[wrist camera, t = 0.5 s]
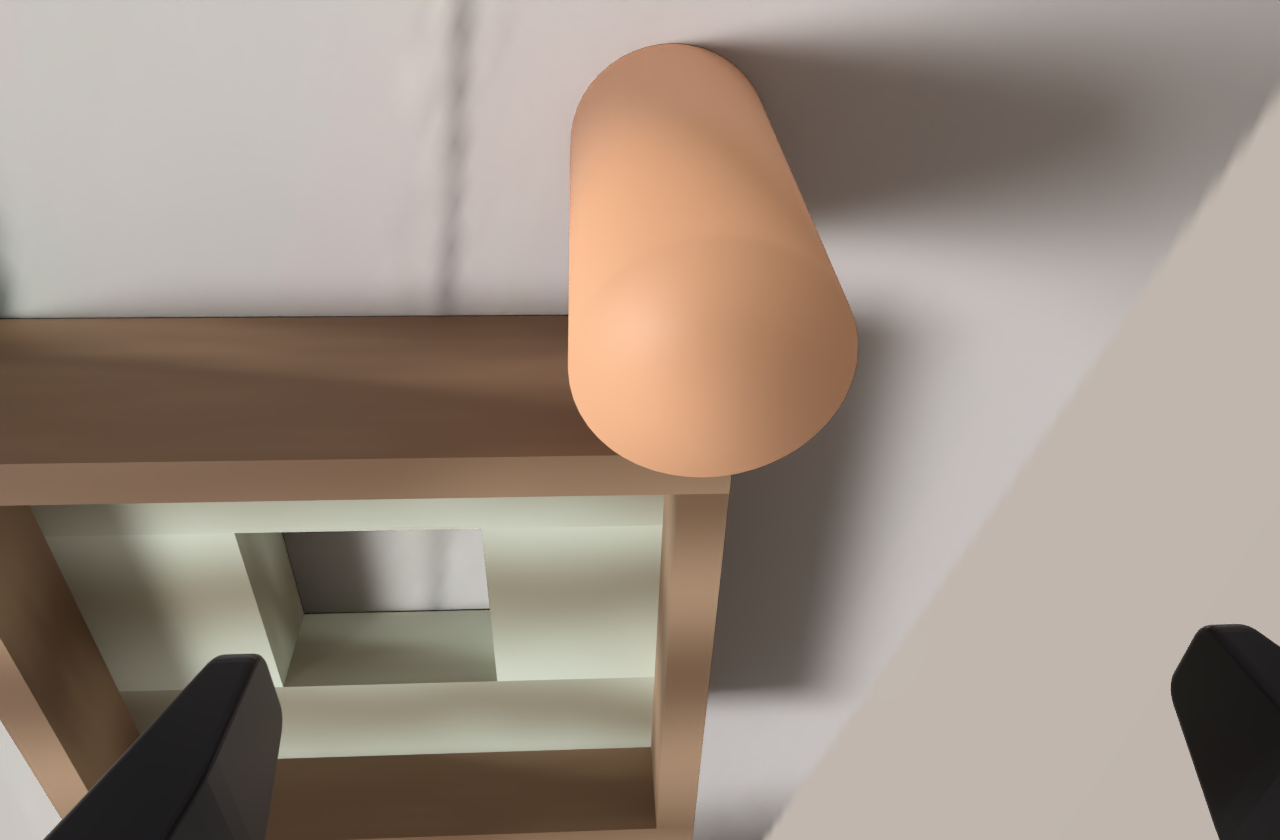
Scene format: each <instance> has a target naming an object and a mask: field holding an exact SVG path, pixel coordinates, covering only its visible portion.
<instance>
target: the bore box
mask: <svg viewBox="0 0 1280 840" xmlns="http://www.w3.org/2000/svg"><path fill="white" fill-rule="evenodd" d="M568 318H569V316H424V317H266V318H107V319H0V720H1V722H2V723H3V725H4V726H5V728H6V730H7V731H8V733H9V735H10V736H11V738H12V739H13V741H14V743H15V744H16V746H17V747H18V749H19V751H20V752H21V754H22V756H23V757H24V759H25V760H26V762H27V764H28V765H29V767H30V768H31V770H32V772H33V773H34V775H35V776H36V778H37V780H38V781H39V783H40V785H41V786H42V788H43V789H44V791H45V793H46V794H47V796H48V797H49V799H50V801H51V802H52V804H53V806H54V807H55V809H56V810H57V812H58V814H59V815H60V817H61V818H62V819H63V818H64V817H65V816H66V815H67V814H68V813H69V812H70V811H71V809H72V808H73V807H74V806H75V805H76V804H77V803H78V802H79V801H80V800H81V799H82V798H83V797H84V796H85V794H86V793H87V792H88V791H89V790H90V789H91V788H92V787H93V786H94V785H95V784H96V783H97V782H98V780H99V779H100V778H101V777H102V776H103V775H104V774H105V773H106V772H107V771H108V770H109V769H110V768H111V767H112V765H113V764H114V763H115V762H116V761H117V760H118V759H119V758H120V757H121V756H122V755H123V754H124V753H125V751H126V750H127V749H128V748H129V747H130V746H131V745H132V744H133V743H134V742H135V741H136V740H137V739H138V738H139V736H140V735H141V734H142V733H143V732H144V731H145V730H146V729H147V728H148V727H149V726H150V725H151V724H152V722H153V721H154V720H155V719H156V718H157V717H158V716H159V715H160V714H161V713H162V712H163V711H164V710H165V708H166V707H167V706H168V705H169V704H170V703H171V702H172V701H173V700H174V699H175V698H176V697H177V696H178V695H179V693H180V692H181V691H182V690H183V689H184V688H185V687H186V686H187V685H188V684H189V683H190V682H191V681H192V679H193V678H194V677H195V676H196V675H197V674H198V673H199V672H200V671H201V670H202V669H203V668H204V667H205V666H206V664H207V663H208V662H210V661H211V660H212V659H213V658H215V657H217V656H219V655H224V654H259V655H261V656H262V657H263V658H264V659H265V661H266V663H267V666H268V669H269V672H270V675H271V678H272V680H273V683H274V686H275V689H276V692H277V695H278V698H279V701H280V704H281V708H282V719H283V722H282V734H281V741H280V747H279V754H278V760H277V767H276V773H275V780H274V786H273V793H272V799H271V805H270V812H269V818H268V825H267V831H266V838H265V840H692V837H693V828H694V819H695V809H696V800H697V791H698V781H699V772H700V763H701V753H702V744H703V735H704V725H705V716H706V707H707V697H708V688H709V679H710V669H711V660H712V651H713V641H714V632H715V623H716V614H717V604H718V595H719V586H720V576H721V567H722V558H723V548H724V539H725V530H726V520H727V511H728V502H729V492H730V483H731V475H727V476H719V477H684V476H677V475H670V474H666V473H661V472H657V471H653V470H651V469H648V468H645V467H643V466H640V465H637V464H635V463H633V462H631V461H629V460H627V459H625V458H623V457H622V456H621V455H619V454H618V453H616V452H615V451H613V450H612V449H610V448H609V447H608V446H607V445H606V444H604V443H603V442H602V441H601V440H600V439H599V438H598V437H597V436H596V435H595V434H594V433H593V431H592V430H591V429H590V428H589V427H588V425H587V424H586V422H585V421H584V419H583V418H582V416H581V415H580V413H579V411H578V408H577V406H576V404H575V402H574V399H573V396H572V392H571V388H570V384H569V375H568ZM433 529H482V538H483V547H484V557H485V567H486V577H487V586H488V596H489V606H490V610H467V611H424V612H381V613H337V614H304V612H303V608H302V604H301V601H300V597H299V594H298V590H297V586H296V583H295V579H294V575H293V572H292V568H291V565H290V561H289V557H288V554H287V550H286V546H285V543H284V539H283V536H282V532H325V531H379V530H433Z"/></svg>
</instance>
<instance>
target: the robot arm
mask: <svg viewBox="0 0 1280 840" xmlns="http://www.w3.org/2000/svg"><path fill="white" fill-rule="evenodd" d="M1171 696H1172V701H1173V704H1174V708H1175V710H1176V713H1177V716H1178V719H1179V722H1180V725H1181V728H1182V731H1183V734H1184V737H1185V740H1186V743H1187V746H1188V749H1189V752H1190V755H1191V758H1192V761H1193V764H1194V766H1195V770H1196V773H1197V776H1198V778H1199V782H1200V784H1201V788H1202V790H1203V793H1204V796H1205V799H1206V802H1207V805H1208V808H1209V811H1210V814H1211V817H1212V820H1213V823H1214V826H1215V829H1216V831H1217V834H1218V836H1219V839H1220V840H1280V646H1278V645H1277V644H1275V643H1274V642H1272V641H1271V640H1270V639H1268V638H1267V637H1265V636H1264V635H1263V634H1261V633H1260V632H1258V631H1257V630H1255V629H1253V628H1251V627H1249V626H1246V625H1241V624H1224V625H1208V626H1204V627H1203V628H1201V629H1200V630H1198V632H1197V633H1196V634H1195V636H1194V638H1193V640H1192V641H1191V643H1190V645H1189V647H1188V649H1187V651H1186V652H1185V654H1184V656H1183V658H1182V659H1181V662H1180V663H1179V665H1178V667H1177V668H1176V670H1175V672H1174V674H1173V676H1172V681H1171ZM282 722H283V719H282V708H281V704H280V701H279V698H278V695H277V692H276V689H275V686H274V683H273V680H272V678H271V675H270V672H269V669H268V666H267V663H266V661H265V659H264V658H263V657H262V656H261V655H259V654H224V655H219V656H217V657H215V658H213V659H212V660H211V661H210V662H208V663H207V664H206V666H205V667H204V668H203V669H202V670H201V671H200V672H199V673H198V674H197V675H196V676H195V677H194V678H193V679H192V681H191V682H190V683H189V684H188V685H187V686H186V687H185V688H184V689H183V690H182V691H181V692H180V693H179V695H178V696H177V697H176V698H175V699H174V700H173V701H172V702H171V703H170V704H169V705H168V706H167V707H166V708H165V710H164V711H163V712H162V713H161V714H160V715H159V716H158V717H157V718H156V719H155V720H154V721H153V722H152V724H151V725H150V726H149V727H148V728H147V729H146V730H145V731H144V732H143V733H142V734H141V735H140V736H139V738H138V739H137V740H136V741H135V742H134V743H133V744H132V745H131V746H130V747H129V748H128V749H127V750H126V751H125V753H124V754H123V755H122V756H121V757H120V758H119V759H118V760H117V761H116V762H115V763H114V764H113V765H112V767H111V768H110V769H109V770H108V771H107V772H106V773H105V774H104V775H103V776H102V777H101V778H100V779H99V780H98V782H97V783H96V784H95V785H94V786H93V787H92V788H91V789H90V790H89V791H88V792H87V793H86V794H85V796H84V797H83V798H82V799H81V800H80V801H79V802H78V803H77V804H76V805H75V806H74V807H73V808H72V809H71V811H70V812H69V813H68V814H67V815H66V816H65V817H64V818H63V819H62V820H61V821H60V822H59V823H58V825H57V826H56V827H55V828H54V829H53V830H52V831H51V832H50V833H49V834H48V835H47V836H46V837H45V838H44V840H265V838H266V831H267V825H268V818H269V812H270V805H271V799H272V793H273V786H274V780H275V773H276V767H277V760H278V754H279V747H280V741H281V734H282Z"/></svg>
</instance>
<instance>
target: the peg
mask: <svg viewBox="0 0 1280 840" xmlns="http://www.w3.org/2000/svg"><path fill="white" fill-rule="evenodd" d="M857 357H858V334H857V329H856V324H855V320H854V317H853V314H852V311H851V309H850V306H849V304H848V301H847V299H846V297H845V294H844V292H843V290H842V288H841V285H840V283H839V281H838V278H837V276H836V274H835V271H834V269H833V267H832V264H831V262H830V260H829V258H828V255H827V253H826V251H825V248H824V246H823V244H822V241H821V239H820V237H819V234H818V232H817V230H816V228H815V225H814V223H813V221H812V218H811V216H810V214H809V211H808V209H807V207H806V204H805V202H804V200H803V198H802V195H801V193H800V191H799V188H798V186H797V184H796V181H795V179H794V177H793V175H792V172H791V170H790V168H789V165H788V163H787V161H786V158H785V156H784V154H783V151H782V149H781V147H780V145H779V142H778V140H777V138H776V135H775V133H774V131H773V128H772V126H771V124H770V121H769V119H768V117H767V115H766V112H765V110H764V108H763V105H762V103H761V101H760V98H759V96H758V94H757V93H756V91H755V89H754V87H753V86H752V84H751V83H750V82H749V80H748V79H747V78H746V76H745V75H744V74H743V73H742V72H741V71H740V70H739V69H738V68H737V67H736V66H734V65H733V64H732V63H730V62H729V61H728V60H726V59H725V58H723V57H721V56H719V55H718V54H716V53H714V52H711V51H709V50H706V49H703V48H700V47H696V46H691V45H685V44H659V45H654V46H649V47H645V48H642V49H639V50H636V51H633V52H631V53H629V54H627V55H625V56H623V57H621V58H620V59H618V60H617V61H615V62H614V63H612V64H611V65H609V66H608V67H607V68H606V69H605V70H604V71H602V72H601V73H600V74H599V75H598V76H597V78H596V79H595V80H594V81H593V82H592V83H591V84H590V86H589V87H588V89H587V91H586V92H585V94H584V95H583V97H582V99H581V101H580V103H579V105H578V107H577V110H576V113H575V116H574V120H573V125H572V130H571V151H570V234H569V318H568V375H569V384H570V388H571V392H572V396H573V399H574V402H575V404H576V406H577V408H578V411H579V413H580V415H581V416H582V418H583V419H584V421H585V422H586V424H587V425H588V427H589V428H590V429H591V430H592V431H593V433H594V434H595V435H596V436H597V437H598V438H599V439H600V440H601V441H602V442H603V443H604V444H606V445H607V446H608V447H609V448H610V449H612V450H613V451H615V452H616V453H618V454H619V455H621V456H622V457H623V458H625V459H627V460H629V461H631V462H633V463H635V464H637V465H640V466H643V467H645V468H648V469H651V470H653V471H657V472H661V473H666V474H670V475H677V476H684V477H719V476H727V475H733V474H739V473H742V472H746V471H750V470H754V469H757V468H759V467H762V466H765V465H767V464H770V463H773V462H775V461H777V460H779V459H781V458H783V457H785V456H787V455H788V454H790V453H792V452H793V451H795V450H796V449H798V448H799V447H801V446H802V445H804V444H805V443H806V442H807V441H809V440H810V439H811V438H813V437H814V436H815V435H816V434H817V433H818V432H819V431H820V430H821V429H822V428H823V427H824V426H825V425H826V424H827V423H828V422H829V420H830V419H831V418H832V417H833V415H834V414H835V413H836V412H837V410H838V409H839V407H840V405H841V404H842V402H843V400H844V399H845V397H846V395H847V393H848V390H849V388H850V386H851V383H852V381H853V377H854V373H855V370H856V366H857Z"/></svg>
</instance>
